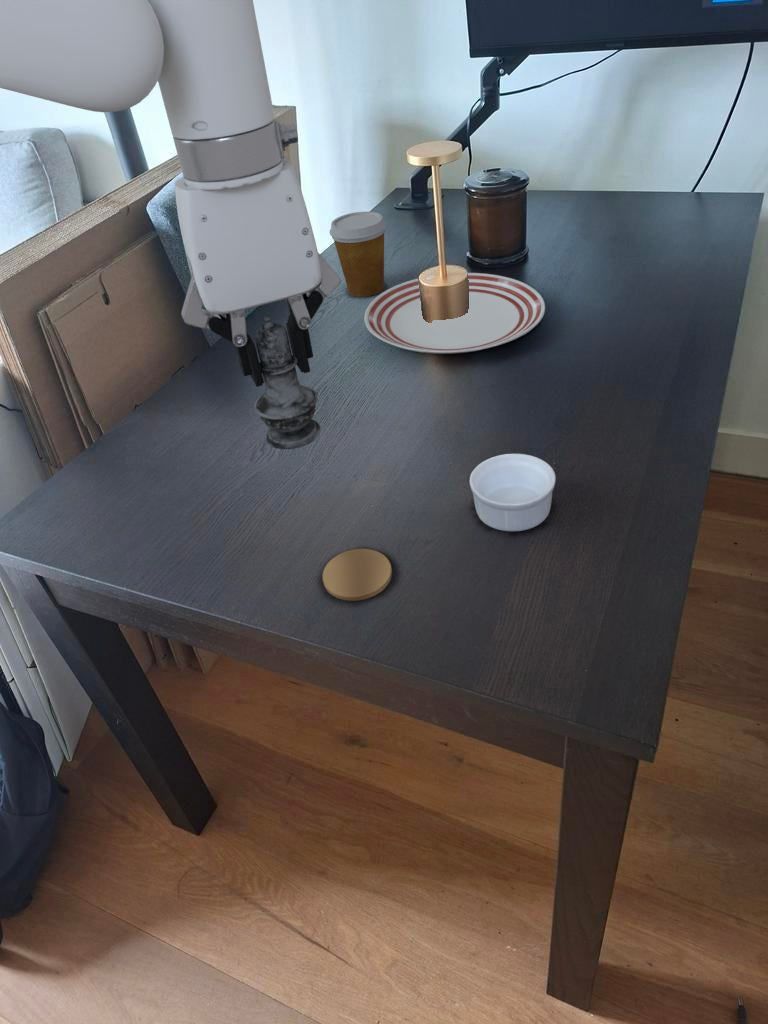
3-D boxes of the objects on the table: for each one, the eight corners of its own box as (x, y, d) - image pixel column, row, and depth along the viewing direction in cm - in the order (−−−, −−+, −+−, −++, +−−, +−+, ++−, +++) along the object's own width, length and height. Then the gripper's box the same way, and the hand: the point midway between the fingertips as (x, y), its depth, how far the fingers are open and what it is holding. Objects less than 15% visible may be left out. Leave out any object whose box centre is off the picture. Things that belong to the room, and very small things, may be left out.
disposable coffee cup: (376, 274, 138) (367, 206, 130) (403, 289, 131) (395, 219, 124) (330, 289, 135) (318, 221, 127) (355, 306, 128) (344, 235, 120)
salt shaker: (335, 424, 72) (314, 305, 65) (299, 456, 69) (272, 335, 61) (287, 412, 75) (261, 296, 68) (249, 443, 71) (217, 325, 64)
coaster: (335, 610, 73) (334, 605, 73) (315, 565, 79) (314, 561, 78) (402, 586, 75) (401, 582, 74) (378, 544, 80) (377, 540, 80)
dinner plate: (556, 290, 123) (557, 270, 121) (528, 374, 104) (528, 352, 101) (396, 288, 132) (394, 270, 130) (342, 365, 112) (338, 345, 110)
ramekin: (522, 548, 77) (522, 515, 74) (454, 516, 82) (452, 484, 79) (571, 503, 82) (572, 470, 79) (503, 475, 87) (503, 444, 84)
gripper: (320, 123, 61) (352, 333, 72) (113, 167, 57) (181, 380, 69) (351, 140, 55) (380, 365, 67) (123, 190, 52) (195, 418, 63)
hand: (279, 371), depth 68 cm, fingers closed on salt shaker, 3 cm apart
